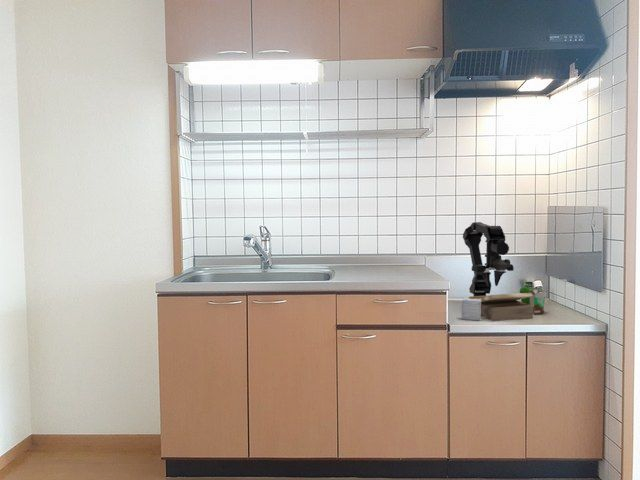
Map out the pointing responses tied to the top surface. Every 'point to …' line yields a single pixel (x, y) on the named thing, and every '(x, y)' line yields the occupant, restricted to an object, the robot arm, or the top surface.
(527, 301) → the bell pepper
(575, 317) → the top surface
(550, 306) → the top surface
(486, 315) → the floor platform
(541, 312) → the food container
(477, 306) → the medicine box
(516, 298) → the pale plank
